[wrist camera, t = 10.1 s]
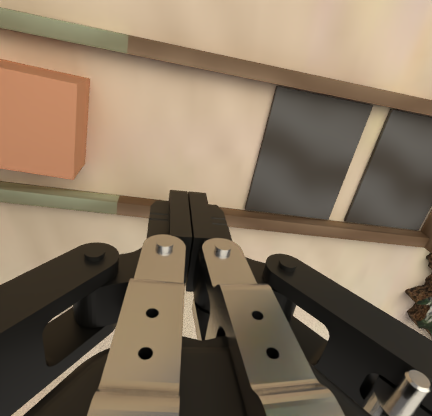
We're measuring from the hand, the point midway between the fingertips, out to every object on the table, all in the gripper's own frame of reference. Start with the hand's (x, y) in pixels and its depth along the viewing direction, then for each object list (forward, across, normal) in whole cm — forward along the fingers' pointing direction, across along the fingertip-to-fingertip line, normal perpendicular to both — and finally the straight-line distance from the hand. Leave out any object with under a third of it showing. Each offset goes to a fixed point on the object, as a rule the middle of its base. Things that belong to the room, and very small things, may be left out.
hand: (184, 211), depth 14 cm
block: (+16, +11, +1) cm, 19 cm away
